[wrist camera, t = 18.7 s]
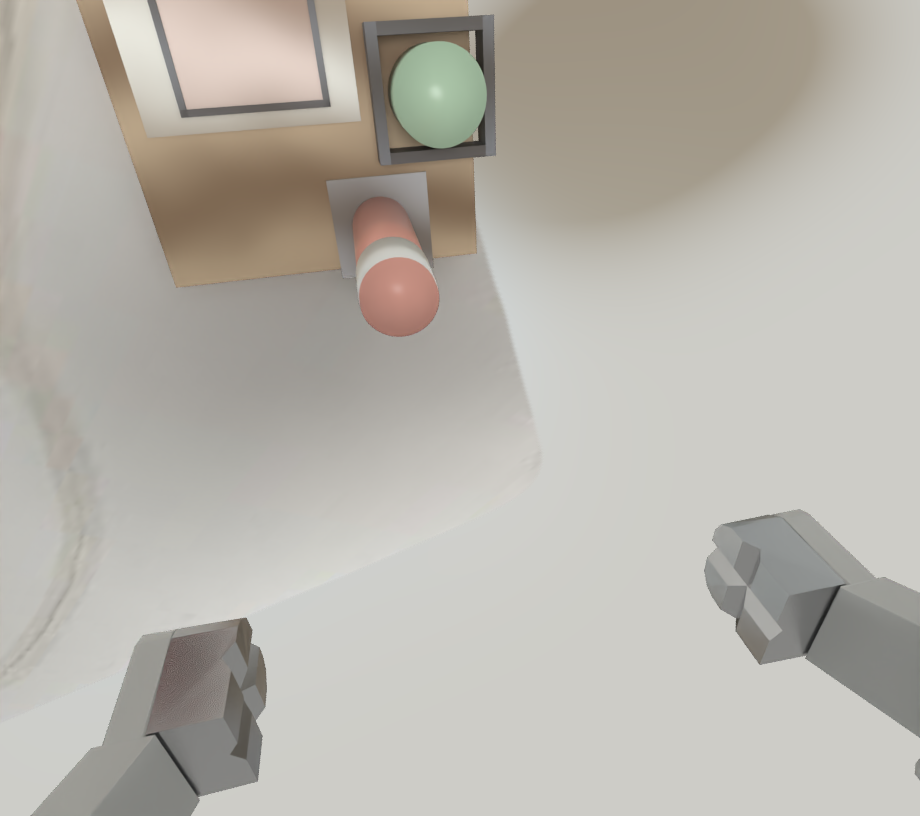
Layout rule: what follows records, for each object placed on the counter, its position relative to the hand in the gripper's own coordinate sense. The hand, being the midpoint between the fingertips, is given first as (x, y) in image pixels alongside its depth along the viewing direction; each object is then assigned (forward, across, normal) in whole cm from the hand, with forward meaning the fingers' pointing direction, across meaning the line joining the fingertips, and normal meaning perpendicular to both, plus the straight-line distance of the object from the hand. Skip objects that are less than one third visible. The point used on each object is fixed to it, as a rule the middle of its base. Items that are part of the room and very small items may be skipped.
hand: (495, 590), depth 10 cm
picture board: (+25, +3, -8) cm, 27 cm away
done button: (+24, -3, -6) cm, 25 cm away
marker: (+24, 0, 0) cm, 24 cm away
